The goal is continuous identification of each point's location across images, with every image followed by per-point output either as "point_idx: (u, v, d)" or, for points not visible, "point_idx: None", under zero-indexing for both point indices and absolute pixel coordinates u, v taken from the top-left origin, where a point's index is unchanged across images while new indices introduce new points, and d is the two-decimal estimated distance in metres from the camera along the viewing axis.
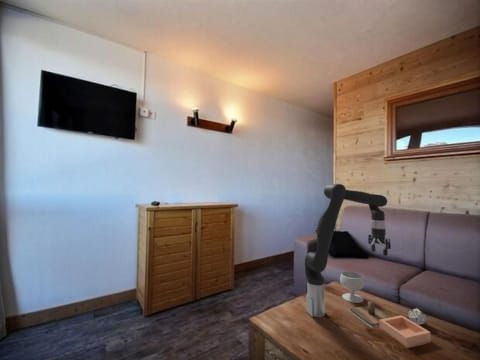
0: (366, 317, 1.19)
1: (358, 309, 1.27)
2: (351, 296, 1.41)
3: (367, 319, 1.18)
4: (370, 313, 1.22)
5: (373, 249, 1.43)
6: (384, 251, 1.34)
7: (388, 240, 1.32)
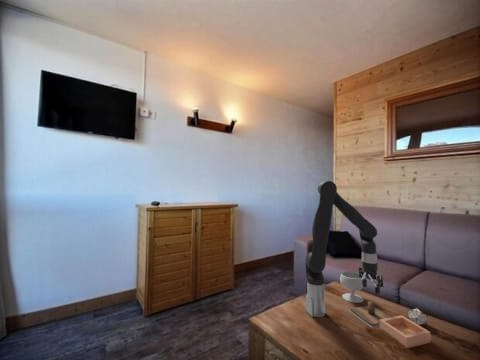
0: (366, 317, 1.19)
1: (358, 309, 1.27)
2: (351, 296, 1.41)
3: (367, 319, 1.18)
4: (370, 313, 1.22)
5: (365, 284, 1.27)
6: (376, 289, 1.19)
7: (380, 277, 1.17)
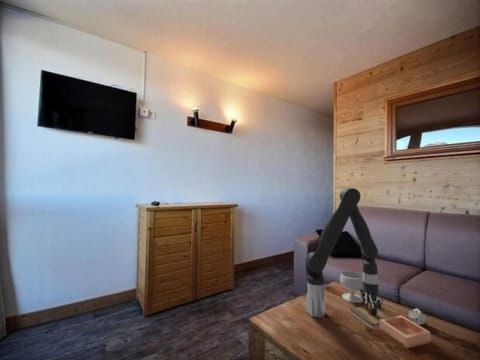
0: (366, 317, 1.19)
1: (358, 309, 1.27)
2: (351, 296, 1.41)
3: (367, 319, 1.18)
4: (370, 313, 1.22)
5: None
6: (373, 310, 1.20)
7: (380, 301, 1.17)
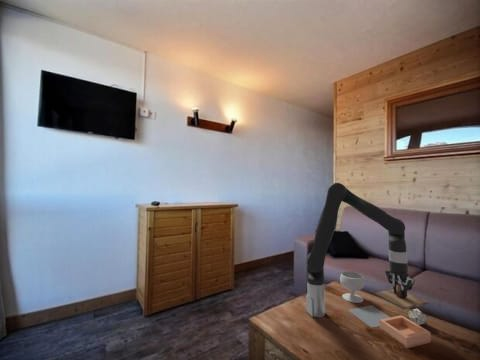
0: (395, 300, 1.06)
1: (384, 293, 1.13)
2: (351, 296, 1.41)
3: (397, 302, 1.04)
4: (399, 296, 1.08)
5: None
6: (403, 292, 1.07)
7: (412, 282, 1.03)
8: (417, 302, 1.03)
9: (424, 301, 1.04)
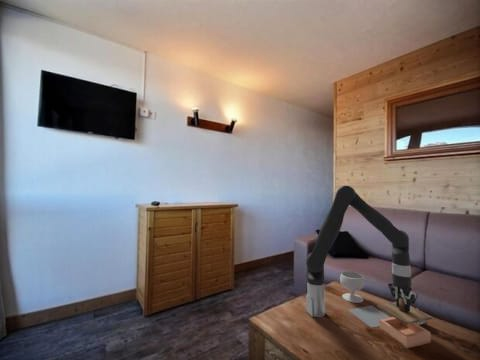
0: (398, 314, 1.04)
1: (387, 305, 1.12)
2: (351, 296, 1.41)
3: (400, 317, 1.02)
4: (402, 310, 1.06)
5: None
6: (405, 306, 1.05)
7: (415, 296, 1.01)
8: (420, 317, 1.02)
9: (427, 316, 1.02)
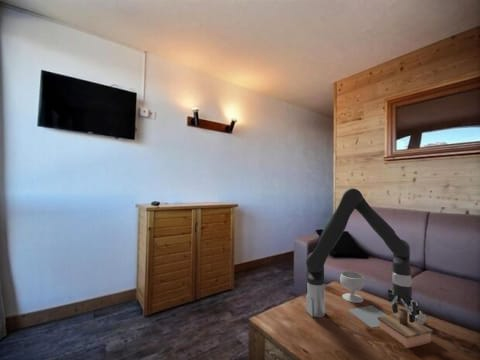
0: (398, 328, 1.04)
1: (387, 318, 1.11)
2: (351, 296, 1.41)
3: (400, 330, 1.02)
4: (402, 323, 1.06)
5: (395, 309, 1.11)
6: (410, 317, 1.02)
7: (416, 303, 1.01)
8: (421, 330, 1.01)
9: (428, 329, 1.02)
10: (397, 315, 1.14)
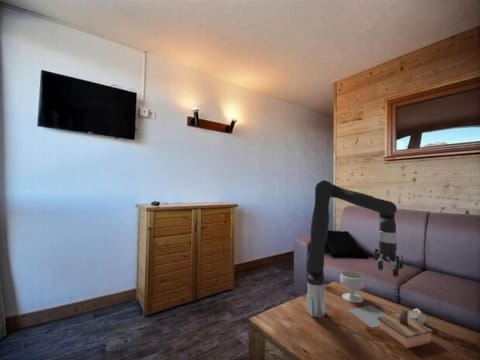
0: (398, 328, 1.04)
1: (387, 318, 1.11)
2: (351, 296, 1.41)
3: (400, 330, 1.02)
4: (402, 323, 1.06)
5: (381, 267, 1.16)
6: (394, 271, 1.08)
7: (400, 258, 1.06)
8: (421, 330, 1.01)
9: (428, 329, 1.02)
10: (397, 315, 1.14)
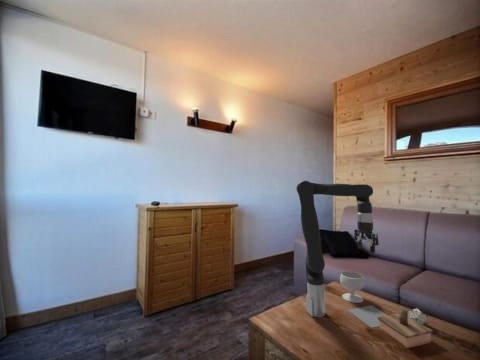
0: (398, 328, 1.04)
1: (387, 318, 1.11)
2: (351, 296, 1.41)
3: (400, 330, 1.02)
4: (402, 323, 1.06)
5: (360, 246, 1.26)
6: (371, 248, 1.18)
7: (375, 235, 1.16)
8: (421, 330, 1.01)
9: (428, 329, 1.02)
10: (397, 315, 1.14)
